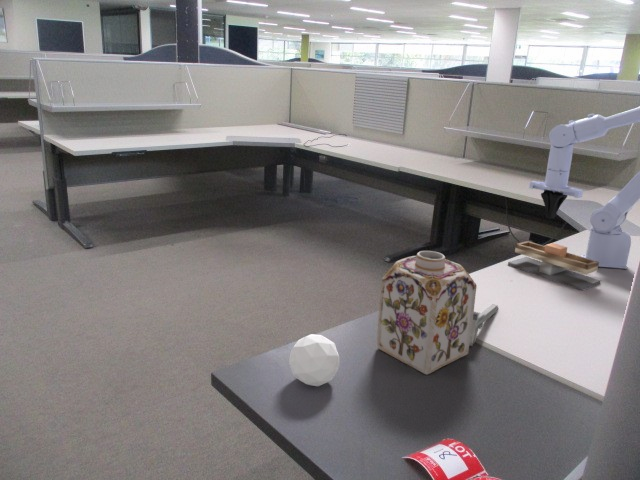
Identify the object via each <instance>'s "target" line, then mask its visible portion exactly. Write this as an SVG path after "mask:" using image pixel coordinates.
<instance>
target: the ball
mask: <svg viewBox="0 0 640 480" xmlns="http://www.w3.org/2000/svg"><path fill="white" fill-rule="evenodd" d="M288 363H289V367H290V369H291V372H292V375H293V377H294V378H295V379H297V380H298V381H300V382H302V383H304V384H305V385H307V386H313V387H320V386H323V385H325V384H327V383H329V382H331V381H332V379H333V378H334V377H335V375H336V374H337V373H338V371H339V370H340V355H339V352H338V349H337V346H336V343H335V342H333V340H331V339H329V338H327V337H325V336H324V335H322V334H315V333H310V334H309V335H306V336H304V337H302V338H300V339H298V340H297V341H296V343H295V344H294V346H293V347H292V348H291V350H290V353H289V359H288Z"/></svg>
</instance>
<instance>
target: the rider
mask: <svg viewBox="0 0 640 480" xmlns="http://www.w3.org/2000/svg"><path fill="white" fill-rule="evenodd" d="M544 246H545V251H544V252H547V253H550V254H554V255H557V256H560V257H566V252H567V251H568V246H564V245H560V244H557V243H554V242H551V243H548V244H545V245H544ZM567 253H568V252H567Z"/></svg>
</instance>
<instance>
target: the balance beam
mask: <svg viewBox="0 0 640 480" xmlns="http://www.w3.org/2000/svg"><path fill="white" fill-rule="evenodd" d="M544 251H545V245H541V244H539V243H535V242H532V241H529V240H527V241H522V242H519V243H516V244H515V249H514V253H516V254H520V255H523V256H524V257H522V258H518V259H515V260H511V261H507V266H510V267H513V268H516V269H518V270H522V271H525V272H528V273H531V274H534V275H535V276H539V277H542V278H545V279H548V280H551V281H554V282H557V283H560V284H563V285H566V286H568V287H571V288H573V289H574V288H575V289H576V290H581V291H583V290H587V289H589V288H592V287H594V286H597V285H600V284H601V281H602V280H600V279H597V278H594V277H591V276H588V275H589V274H592V273H595V272H598V270H599V267H598V265H599V262H598V261H594V260H591V259H587V258H584V257H581V256H580V255H576V254H573V253H569V252H566V257H560V256H557V255H554V254H550V253H547V252H544Z"/></svg>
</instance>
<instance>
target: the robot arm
mask: <svg viewBox="0 0 640 480" xmlns="http://www.w3.org/2000/svg"><path fill="white" fill-rule="evenodd" d="M636 123H640V106H638V107H635V108H631V109H629V110H626V111H623V112H619V113H616V114H613V115H610V116H607V117H606V116H603V115H601V114H600V113H599V114H595V113H589V114H587V117H585V118H581V119H576V120H574V119H572V120H569V121H568V124H562V123H561V124H558V125H556V126H554V127H553V128H551V130H550V131H549V134H548V135H549V136H548V140H549V142H550V148H549V152H548V160H547V165H546V166H547V167H546V173H545V180H544V181H538V180H532V181H529V187H528V189H532V190H533V189H535V190H540V191H543V192H541V194H540V196H541V199H542V202H543V204H544V207H545V209H544V210H545V218H546V219H549V220H552V219H553V220H554V219H555V218H556V216H557V213H558V211H559V210H560V207H561V205H562V204H563V203H564V201H565V200H566V199H567V198H568V196H569V197H573V198H576V199H580V198H583V193H584V190H583V189H579V188H576V187H572V186H568V184H569V183H568V182H569V177H570V171H571V165H572V161H573V160H572V159H573V151H574V145H575V144H576V143H578V144H579V143H583V142H587V141H591V140H594V139H597V138H603V137H605V135H606V134H607V133H608V131H609V130H612V129H616V128H619V127H623V126H627V125H632V124H636ZM639 200H640V170H639V171H638V172H637V173H636V174H635V175H634V176H633V177H632V178H631V179H630V180H629V182H627V184H626V185H624V187H623V188H622V189H621V190H620V191H619V192H618V193H617V194H616V195H615V196H613V198H611V199H610V200H609V201H608V202H607V203H606V204H605V205H604V206H603V207H600V208H599V207H598V208H597V209H595V210H594V211H593V212H592V213H591V215H590V220H589V221H590V225H591V226H590V231H589V236H588V242H587V248H586V253H585V255H583V254H580V255H579V256H581V257H584V258H587V259H591V260H594V261H598V262H599V265H598V268H610V269H611V268H613V269H625V270H627V269H628V266H627V264H628V260H629V256H630V250H631V246H632V245H631V244H632V238H631V235H630V233H629V232H627V231H623V230H622V227H621V225H622V224H624V223H625V221H626V219H627V216H628V213H629V212H630V211H631V210H632V209H633V207H634V206H635V205H636V204H637V203H638V202H639Z"/></svg>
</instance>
